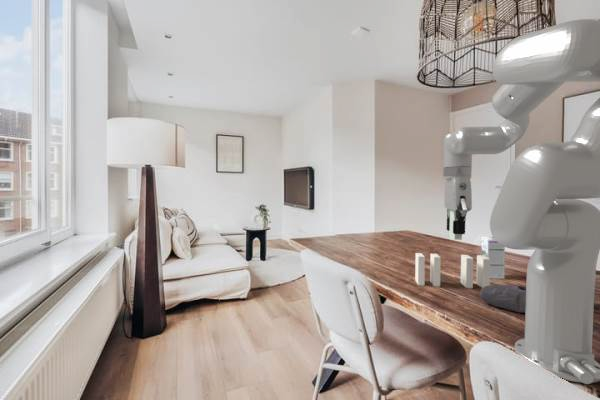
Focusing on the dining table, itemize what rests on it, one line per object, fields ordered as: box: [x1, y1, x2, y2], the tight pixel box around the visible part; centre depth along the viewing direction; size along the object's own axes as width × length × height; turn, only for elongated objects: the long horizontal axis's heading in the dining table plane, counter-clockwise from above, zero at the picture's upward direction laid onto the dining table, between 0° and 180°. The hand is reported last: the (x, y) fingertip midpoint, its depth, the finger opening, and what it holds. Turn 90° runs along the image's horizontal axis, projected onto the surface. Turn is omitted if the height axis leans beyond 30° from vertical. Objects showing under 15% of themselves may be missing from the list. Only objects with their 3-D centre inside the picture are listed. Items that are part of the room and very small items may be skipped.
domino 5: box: [475, 254, 491, 289], centre depth 94 cm, size 5×2×10 cm, turn 169°
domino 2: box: [429, 253, 442, 287], centre depth 97 cm, size 5×2×10 cm, turn 169°
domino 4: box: [460, 254, 474, 289], centre depth 95 cm, size 5×2×10 cm, turn 169°
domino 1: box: [414, 252, 426, 286], centre depth 98 cm, size 5×2×10 cm, turn 169°
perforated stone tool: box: [479, 284, 526, 314], centre depth 77 cm, size 15×5×7 cm, turn 51°
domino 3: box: [448, 208, 463, 241], centre depth 87 cm, size 5×2×10 cm, turn 169°
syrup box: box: [481, 236, 506, 280], centre depth 104 cm, size 6×6×14 cm
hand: (455, 231), depth 87 cm, fingers closed on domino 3, 4 cm apart
